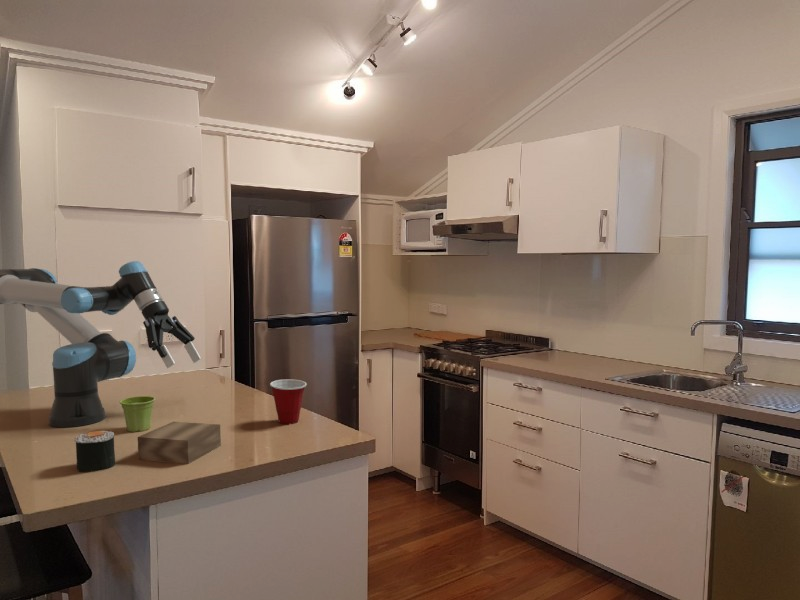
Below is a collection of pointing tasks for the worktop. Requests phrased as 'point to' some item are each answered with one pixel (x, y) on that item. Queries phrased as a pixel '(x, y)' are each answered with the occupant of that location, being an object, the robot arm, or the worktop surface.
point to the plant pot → (138, 412)
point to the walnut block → (179, 442)
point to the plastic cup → (288, 399)
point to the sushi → (95, 451)
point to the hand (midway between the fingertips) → (185, 363)
